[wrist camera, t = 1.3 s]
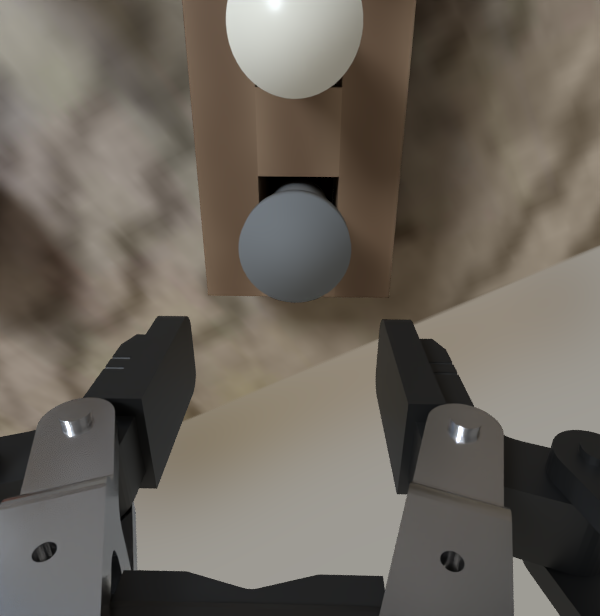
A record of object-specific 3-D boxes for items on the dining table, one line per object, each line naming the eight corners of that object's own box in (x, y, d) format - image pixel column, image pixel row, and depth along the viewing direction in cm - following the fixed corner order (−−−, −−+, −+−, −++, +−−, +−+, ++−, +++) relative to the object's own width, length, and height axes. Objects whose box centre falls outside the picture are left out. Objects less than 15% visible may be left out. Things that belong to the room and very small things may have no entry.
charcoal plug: (343, 165, 25) (354, 195, 18) (339, 250, 27) (348, 303, 20) (254, 165, 25) (235, 194, 18) (258, 249, 27) (241, 301, 20)
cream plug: (351, -20, 21) (367, -62, 15) (346, 93, 23) (359, 99, 17) (248, -20, 21) (221, -61, 15) (252, 93, 23) (229, 98, 17)
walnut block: (416, -281, 21) (453, -407, 15) (375, 260, 32) (388, 297, 26) (189, -278, 21) (146, -402, 16) (225, 258, 32) (208, 295, 26)
